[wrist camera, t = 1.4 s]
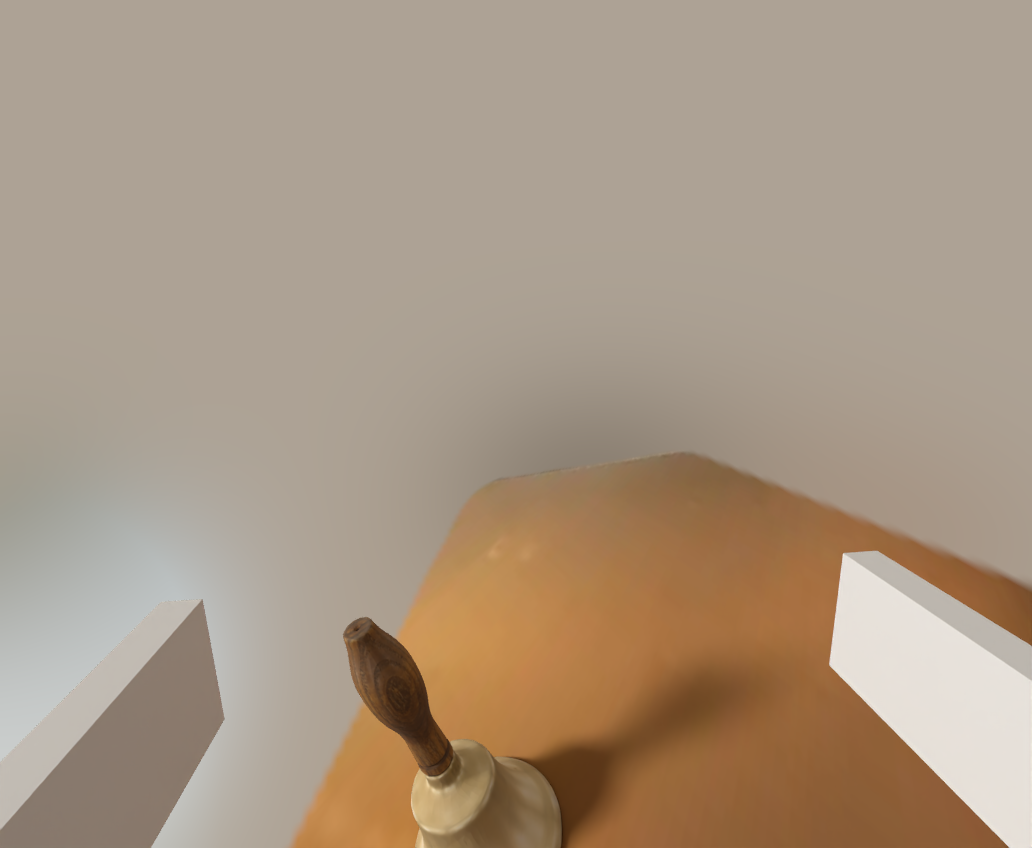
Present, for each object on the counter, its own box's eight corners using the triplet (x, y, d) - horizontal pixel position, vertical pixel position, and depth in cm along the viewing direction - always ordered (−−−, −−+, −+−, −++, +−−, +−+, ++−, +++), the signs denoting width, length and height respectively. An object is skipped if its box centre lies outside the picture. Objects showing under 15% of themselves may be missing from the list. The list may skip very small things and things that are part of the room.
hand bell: (387, 913, 27) (216, 713, 20) (454, 750, 34) (342, 560, 27) (536, 965, 24) (389, 742, 17) (578, 771, 30) (484, 558, 24)
